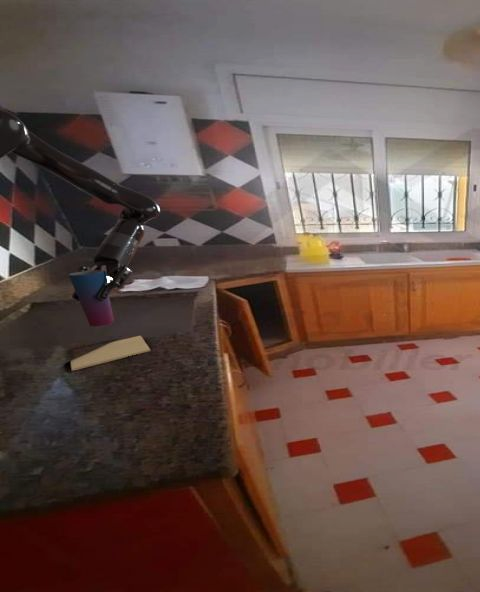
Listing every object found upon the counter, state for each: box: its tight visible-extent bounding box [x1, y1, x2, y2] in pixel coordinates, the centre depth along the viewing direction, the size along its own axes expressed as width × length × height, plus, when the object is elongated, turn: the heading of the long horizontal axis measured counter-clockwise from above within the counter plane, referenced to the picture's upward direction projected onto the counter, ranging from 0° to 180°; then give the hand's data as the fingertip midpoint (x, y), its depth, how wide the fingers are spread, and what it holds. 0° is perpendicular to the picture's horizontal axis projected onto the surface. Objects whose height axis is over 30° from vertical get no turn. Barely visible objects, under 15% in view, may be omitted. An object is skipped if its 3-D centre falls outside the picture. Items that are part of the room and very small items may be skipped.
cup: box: [68, 270, 115, 327], centre depth 89 cm, size 7×7×15 cm
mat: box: [70, 335, 151, 372], centre depth 93 cm, size 16×16×1 cm
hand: (88, 299), depth 87 cm, fingers closed on cup, 6 cm apart
